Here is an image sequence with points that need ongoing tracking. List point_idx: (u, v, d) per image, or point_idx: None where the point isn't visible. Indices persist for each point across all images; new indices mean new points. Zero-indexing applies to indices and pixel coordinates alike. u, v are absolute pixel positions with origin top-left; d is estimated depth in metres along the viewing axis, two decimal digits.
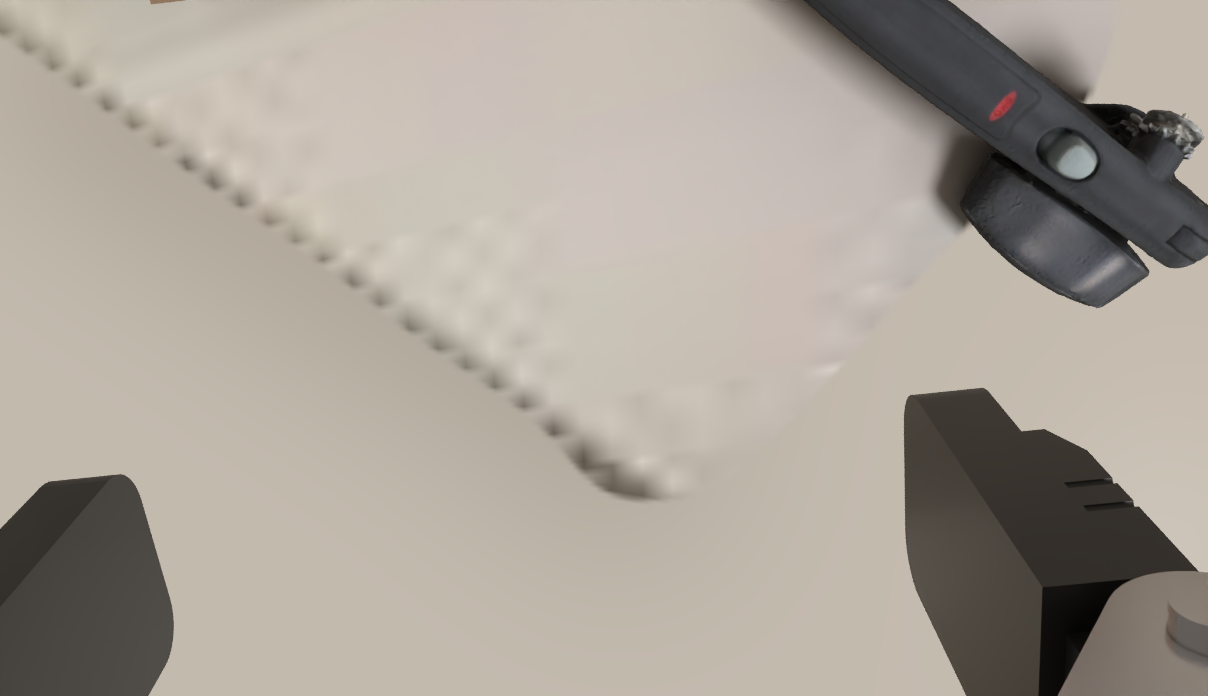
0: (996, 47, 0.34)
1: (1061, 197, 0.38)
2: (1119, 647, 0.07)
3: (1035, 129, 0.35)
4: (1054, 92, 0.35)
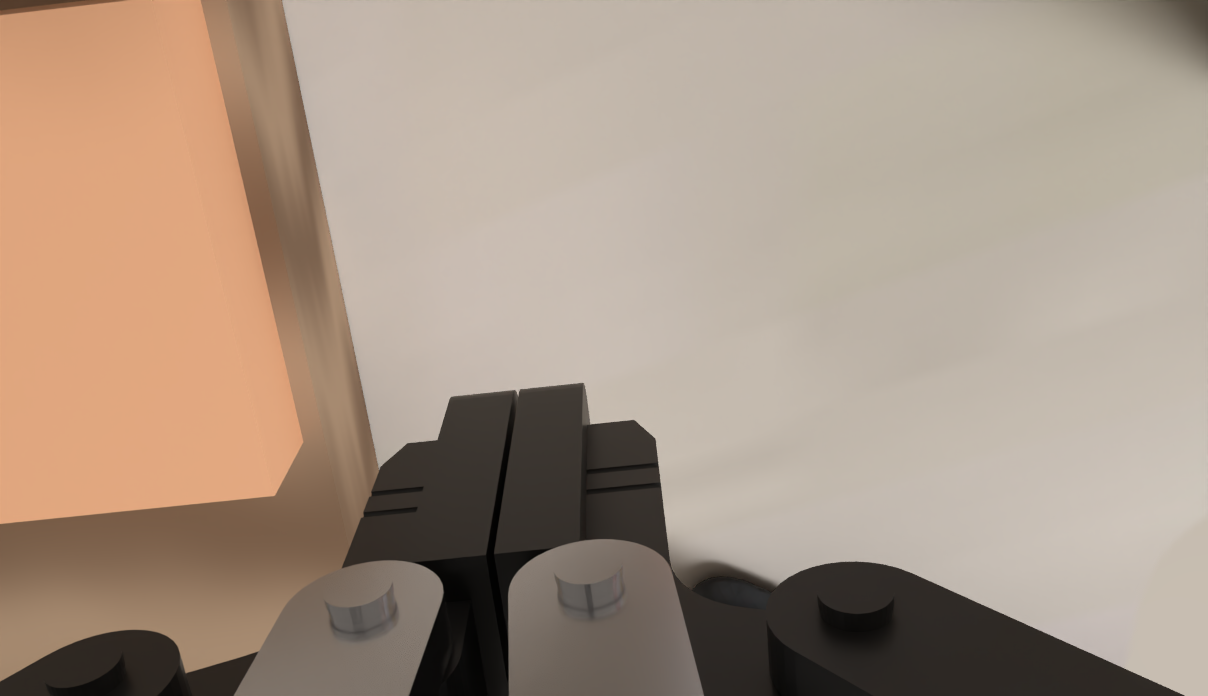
0: None
1: None
2: (534, 630, 0.08)
3: None
4: None
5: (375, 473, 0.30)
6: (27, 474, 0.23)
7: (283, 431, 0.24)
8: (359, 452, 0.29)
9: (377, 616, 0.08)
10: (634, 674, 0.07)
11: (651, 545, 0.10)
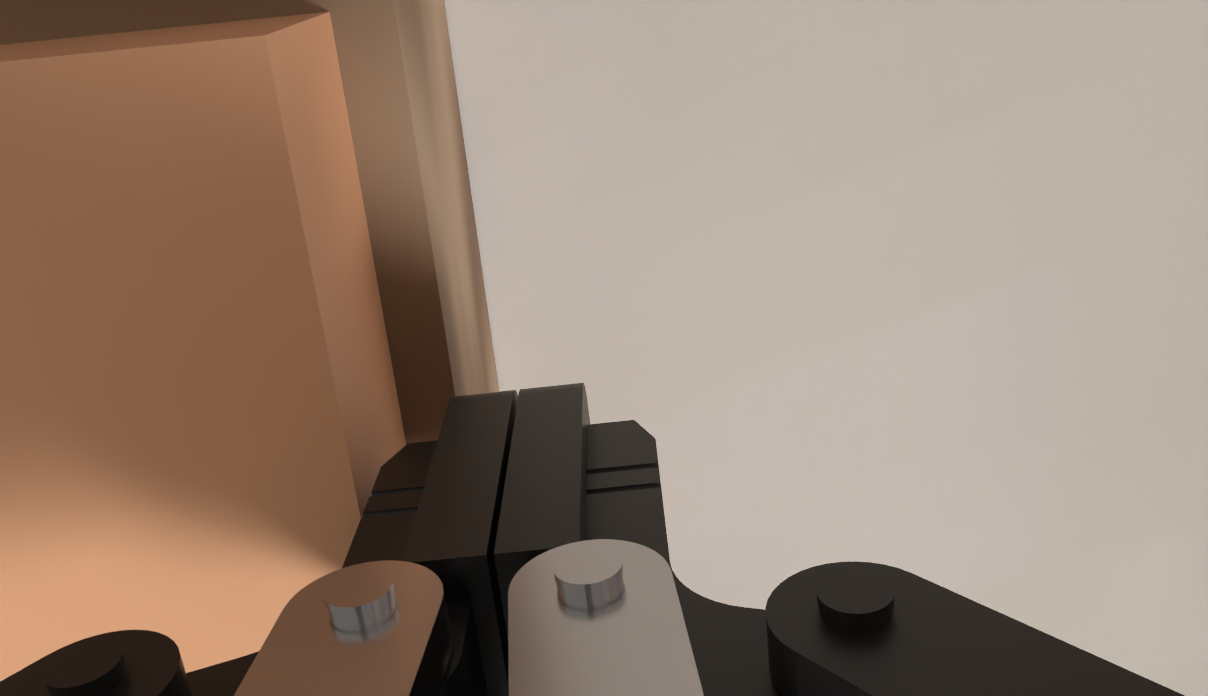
0: None
1: None
2: (535, 630, 0.08)
3: None
4: None
5: None
6: None
7: None
8: None
9: (377, 616, 0.08)
10: (634, 674, 0.07)
11: (651, 545, 0.09)
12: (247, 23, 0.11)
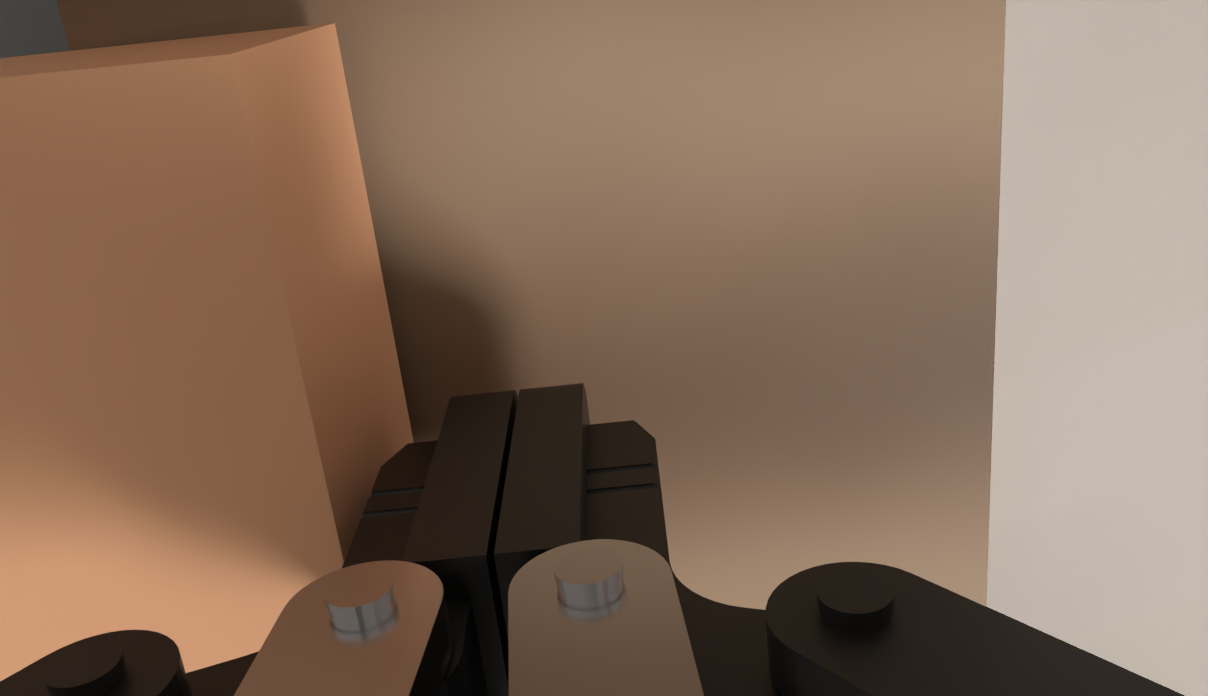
0: None
1: None
2: (535, 629, 0.08)
3: None
4: None
5: None
6: None
7: None
8: None
9: (376, 616, 0.08)
10: (634, 674, 0.07)
11: (651, 545, 0.10)
12: (245, 36, 0.11)
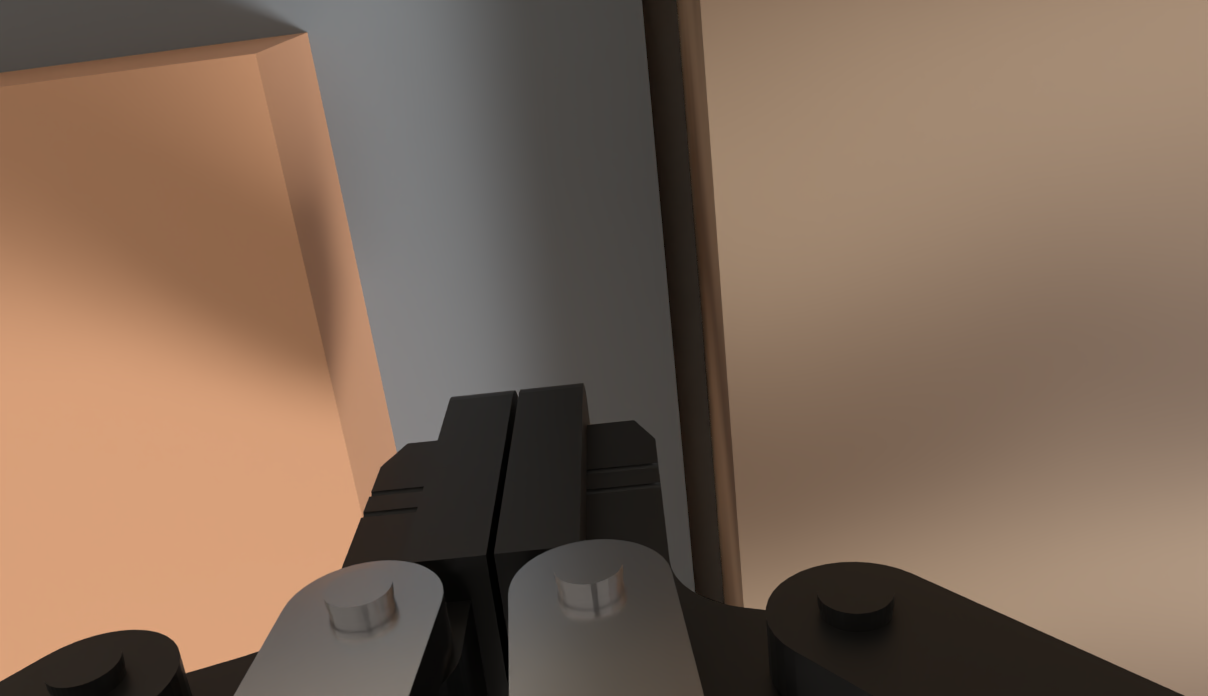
0: None
1: None
2: (535, 630, 0.08)
3: None
4: None
5: None
6: None
7: None
8: None
9: (377, 616, 0.08)
10: (634, 674, 0.07)
11: (651, 545, 0.10)
12: None
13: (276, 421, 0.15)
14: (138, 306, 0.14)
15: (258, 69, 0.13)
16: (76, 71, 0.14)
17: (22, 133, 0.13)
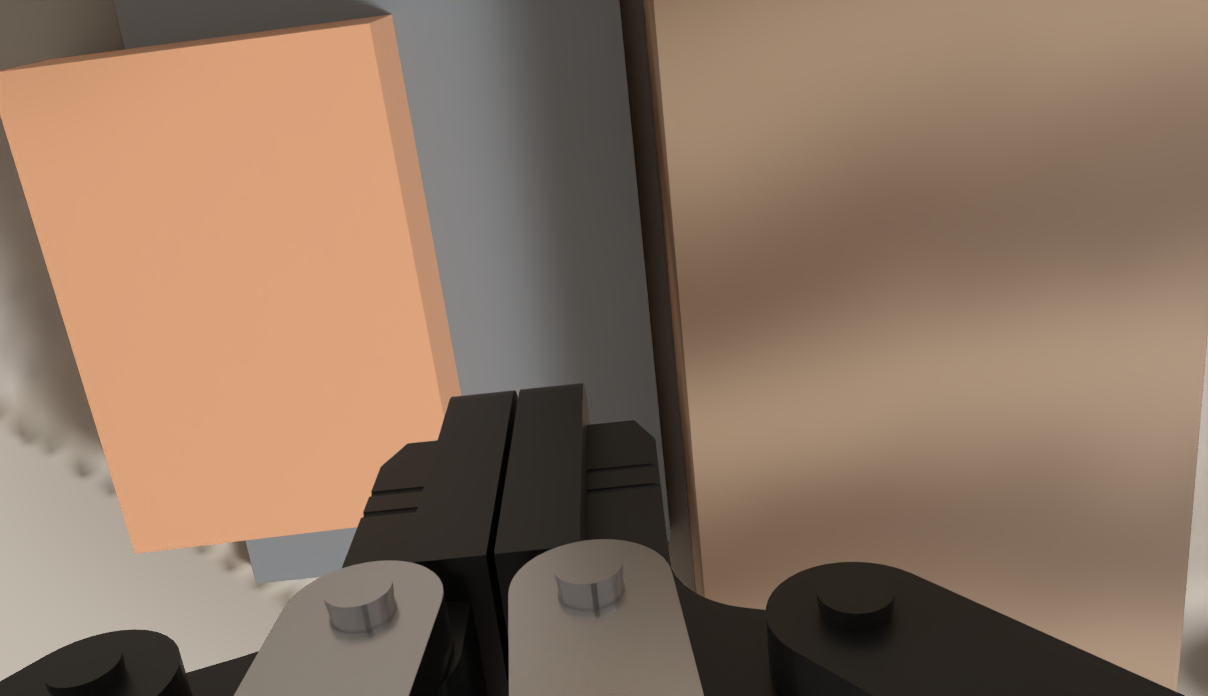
0: None
1: None
2: (535, 630, 0.08)
3: None
4: None
5: None
6: None
7: None
8: None
9: (377, 616, 0.08)
10: (635, 674, 0.07)
11: (651, 545, 0.10)
12: (40, 64, 0.21)
13: (373, 273, 0.22)
14: (285, 192, 0.21)
15: (370, 33, 0.20)
16: (246, 37, 0.21)
17: (215, 75, 0.20)
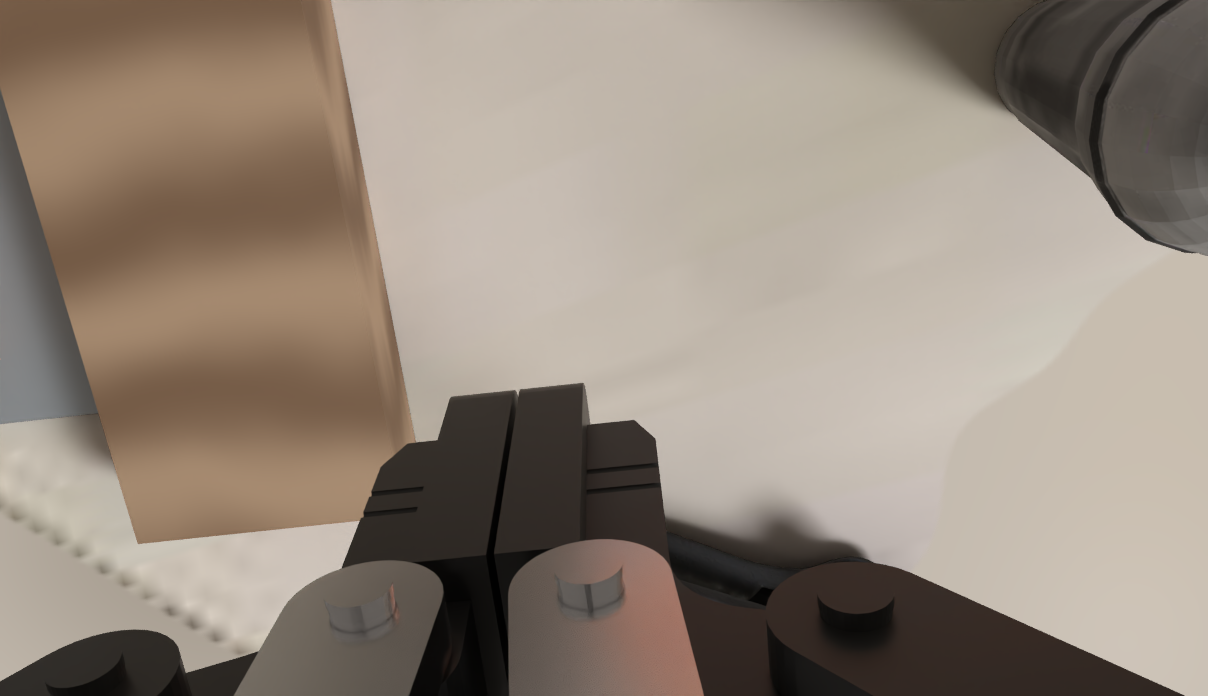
0: None
1: None
2: (535, 630, 0.08)
3: None
4: None
5: (400, 373, 0.43)
6: None
7: None
8: (389, 355, 0.42)
9: (377, 616, 0.08)
10: (634, 674, 0.07)
11: (651, 545, 0.10)
12: None
13: None
14: None
15: None
16: None
17: None
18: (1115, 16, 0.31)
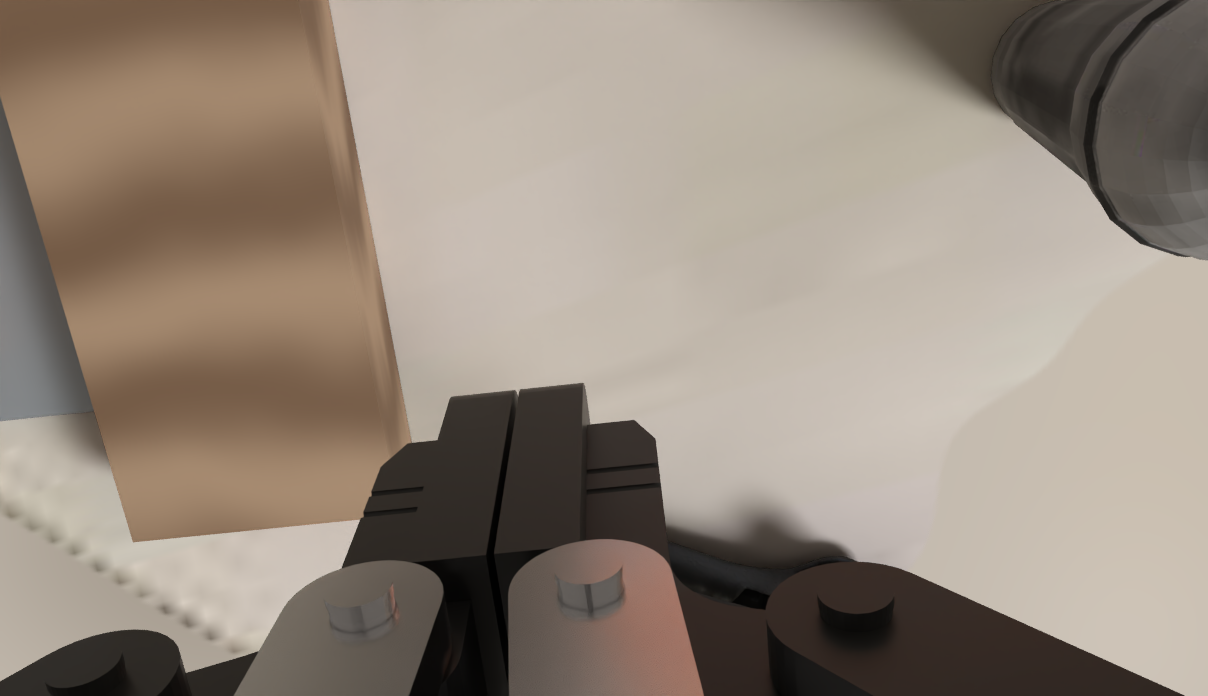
0: None
1: None
2: (535, 629, 0.08)
3: None
4: None
5: (396, 373, 0.43)
6: None
7: None
8: (385, 355, 0.42)
9: (377, 616, 0.08)
10: (635, 674, 0.07)
11: (651, 545, 0.10)
12: None
13: None
14: None
15: None
16: None
17: None
18: (1111, 20, 0.31)
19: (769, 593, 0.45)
